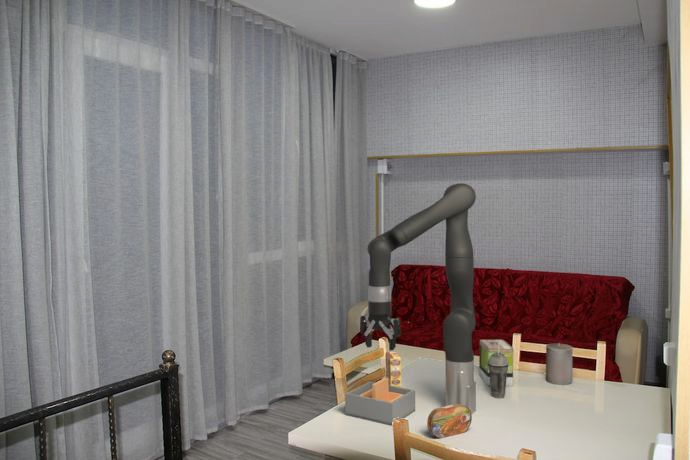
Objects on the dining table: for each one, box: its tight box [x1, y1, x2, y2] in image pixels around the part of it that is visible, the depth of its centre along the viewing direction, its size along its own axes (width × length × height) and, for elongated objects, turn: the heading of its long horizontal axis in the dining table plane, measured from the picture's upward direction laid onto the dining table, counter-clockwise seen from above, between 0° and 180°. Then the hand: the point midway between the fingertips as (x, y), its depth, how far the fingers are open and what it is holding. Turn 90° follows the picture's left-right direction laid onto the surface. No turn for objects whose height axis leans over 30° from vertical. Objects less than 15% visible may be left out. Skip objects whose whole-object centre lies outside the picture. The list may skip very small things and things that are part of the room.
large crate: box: [344, 381, 416, 427], centre depth 187 cm, size 18×16×7 cm
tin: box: [426, 404, 473, 439], centre depth 169 cm, size 15×3×8 cm, turn 117°
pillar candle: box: [545, 342, 574, 386], centre depth 220 cm, size 10×10×15 cm
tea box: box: [478, 339, 515, 387], centre depth 222 cm, size 15×10×15 cm
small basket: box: [359, 377, 403, 402], centre depth 187 cm, size 12×10×10 cm
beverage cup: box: [488, 339, 509, 399], centre depth 203 cm, size 7×7×20 cm
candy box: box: [384, 351, 402, 387], centre depth 202 cm, size 9×4×15 cm, turn 8°
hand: (380, 348), depth 186 cm, fingers open, 8 cm apart
